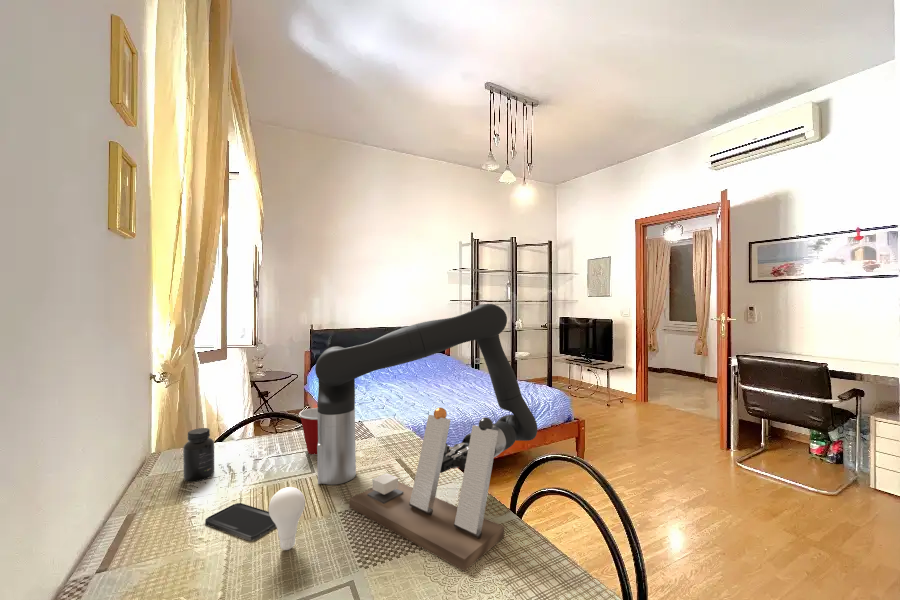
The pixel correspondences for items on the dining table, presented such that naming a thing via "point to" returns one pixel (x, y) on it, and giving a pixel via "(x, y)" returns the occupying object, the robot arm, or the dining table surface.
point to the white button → (385, 483)
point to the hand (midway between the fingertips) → (438, 467)
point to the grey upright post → (476, 478)
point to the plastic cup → (310, 429)
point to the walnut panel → (427, 525)
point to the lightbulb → (287, 514)
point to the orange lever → (430, 462)
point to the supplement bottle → (198, 455)
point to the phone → (242, 521)
